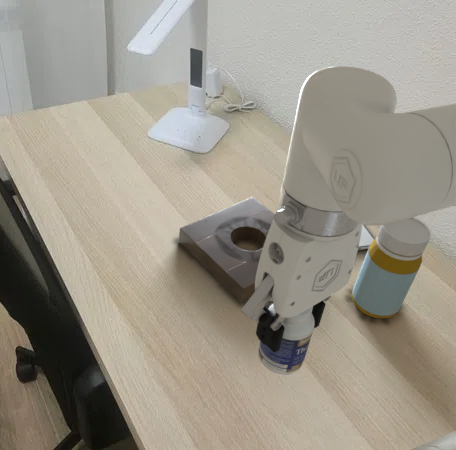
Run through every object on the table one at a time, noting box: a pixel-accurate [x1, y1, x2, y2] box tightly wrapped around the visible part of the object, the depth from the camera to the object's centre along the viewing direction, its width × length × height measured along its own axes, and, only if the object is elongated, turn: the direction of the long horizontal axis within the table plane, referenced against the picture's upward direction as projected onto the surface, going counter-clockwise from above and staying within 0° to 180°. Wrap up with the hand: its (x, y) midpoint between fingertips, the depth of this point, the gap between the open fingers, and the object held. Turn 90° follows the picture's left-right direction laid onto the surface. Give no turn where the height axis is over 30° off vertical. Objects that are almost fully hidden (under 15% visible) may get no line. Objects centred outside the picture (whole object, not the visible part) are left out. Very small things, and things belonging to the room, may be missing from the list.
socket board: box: [178, 196, 276, 303], centre depth 90 cm, size 16×16×3 cm
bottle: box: [351, 217, 431, 319], centre depth 78 cm, size 7×7×15 cm
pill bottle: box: [257, 303, 315, 376], centre depth 63 cm, size 5×5×10 cm
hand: (287, 330), depth 62 cm, fingers closed on pill bottle, 5 cm apart
